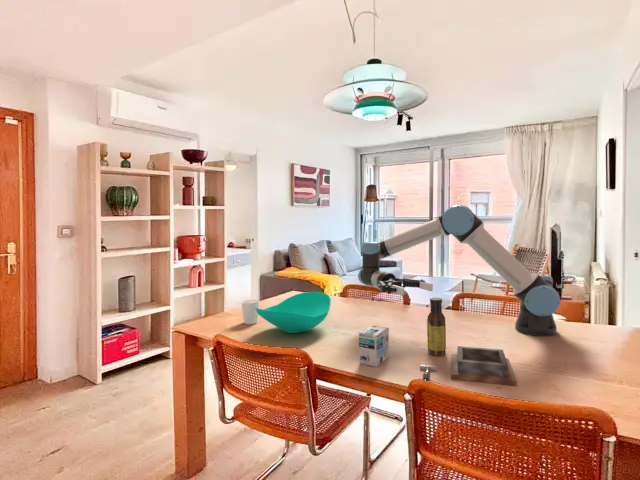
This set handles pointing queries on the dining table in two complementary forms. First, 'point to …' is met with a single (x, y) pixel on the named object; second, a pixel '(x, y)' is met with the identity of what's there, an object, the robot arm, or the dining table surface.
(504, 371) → the grey square tray
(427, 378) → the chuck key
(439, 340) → the sauce bottle
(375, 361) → the light bulb box
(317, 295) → the table top decor
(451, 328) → the dining table surface
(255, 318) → the white cup
